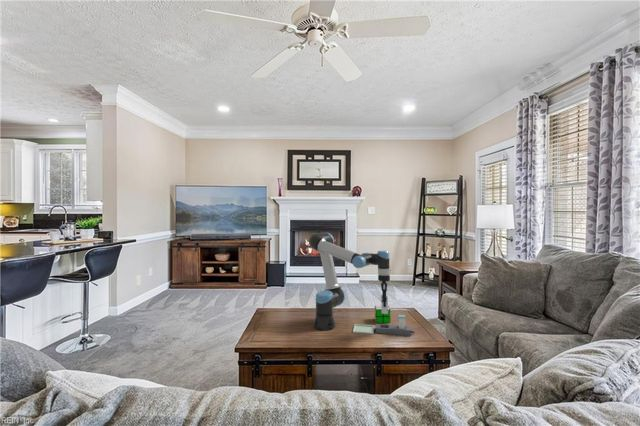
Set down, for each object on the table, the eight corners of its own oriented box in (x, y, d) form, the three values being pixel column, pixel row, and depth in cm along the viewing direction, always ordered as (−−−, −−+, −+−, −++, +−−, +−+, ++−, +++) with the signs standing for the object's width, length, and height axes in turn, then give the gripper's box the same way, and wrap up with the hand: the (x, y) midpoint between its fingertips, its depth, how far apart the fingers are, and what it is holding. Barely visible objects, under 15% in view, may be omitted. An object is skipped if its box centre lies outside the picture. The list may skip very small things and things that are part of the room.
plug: (381, 313, 194) (381, 296, 195) (381, 311, 198) (381, 295, 199) (388, 313, 194) (387, 297, 194) (388, 311, 198) (387, 295, 198)
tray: (352, 333, 194) (352, 331, 194) (354, 326, 207) (354, 324, 207) (373, 334, 191) (373, 332, 191) (374, 327, 204) (374, 325, 204)
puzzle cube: (388, 319, 220) (388, 305, 221) (390, 323, 210) (390, 309, 211) (374, 318, 221) (374, 305, 222) (376, 323, 211) (375, 309, 212)
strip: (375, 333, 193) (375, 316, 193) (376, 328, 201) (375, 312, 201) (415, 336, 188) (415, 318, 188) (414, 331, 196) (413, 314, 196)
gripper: (389, 277, 187) (390, 314, 187) (389, 272, 204) (390, 306, 204) (377, 277, 189) (378, 314, 188) (378, 272, 206) (379, 306, 205)
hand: (384, 310), depth 196 cm, fingers closed on plug, 4 cm apart
